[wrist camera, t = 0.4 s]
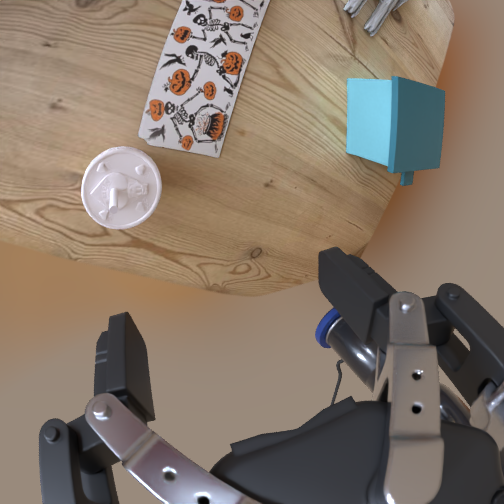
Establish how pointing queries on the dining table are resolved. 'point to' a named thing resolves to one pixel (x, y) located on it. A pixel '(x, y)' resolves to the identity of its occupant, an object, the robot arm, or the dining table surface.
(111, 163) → the smoothie
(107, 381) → the robot arm
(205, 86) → the halloween decorative sign
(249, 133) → the dining table surface
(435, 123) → the storage box
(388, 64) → the dining table surface
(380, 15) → the turret
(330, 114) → the dining table surface
